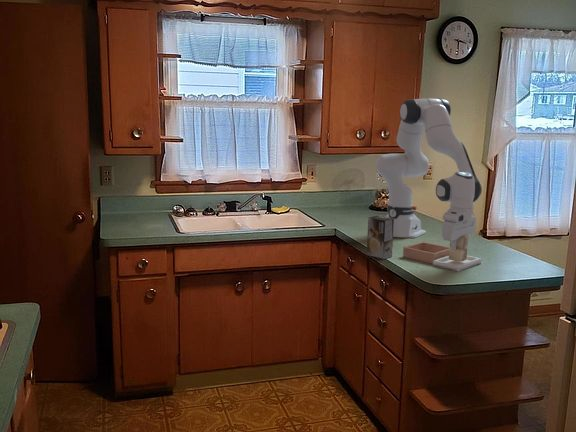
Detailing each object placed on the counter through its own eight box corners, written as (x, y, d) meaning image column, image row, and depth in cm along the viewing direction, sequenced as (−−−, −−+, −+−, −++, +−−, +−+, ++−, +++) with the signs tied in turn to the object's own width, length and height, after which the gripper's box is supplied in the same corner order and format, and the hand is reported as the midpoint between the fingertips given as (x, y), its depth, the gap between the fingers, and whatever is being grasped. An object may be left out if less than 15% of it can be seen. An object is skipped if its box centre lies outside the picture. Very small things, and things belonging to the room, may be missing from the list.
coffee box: (392, 256, 246) (395, 218, 243) (383, 259, 241) (385, 220, 238) (375, 252, 252) (377, 215, 249) (365, 254, 248) (367, 217, 245)
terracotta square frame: (422, 250, 256) (422, 241, 256) (452, 257, 246) (453, 248, 246) (403, 256, 246) (403, 247, 246) (433, 263, 236) (434, 253, 235)
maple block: (455, 257, 239) (457, 233, 237) (466, 259, 236) (468, 235, 234) (448, 259, 236) (450, 234, 234) (460, 262, 232) (462, 237, 230)
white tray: (456, 257, 246) (456, 253, 246) (480, 263, 238) (481, 258, 238) (432, 265, 234) (433, 260, 233) (458, 271, 226) (458, 266, 226)
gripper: (466, 209, 242) (464, 242, 244) (440, 215, 227) (437, 250, 230) (481, 212, 237) (478, 245, 240) (455, 218, 223) (452, 254, 226)
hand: (458, 248), depth 235 cm, fingers closed on maple block, 5 cm apart
